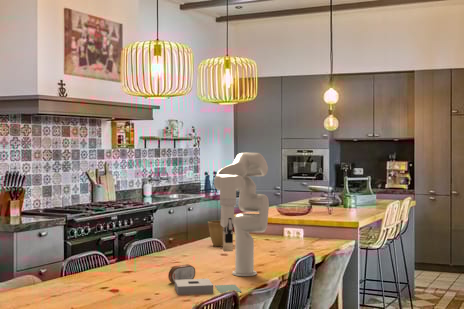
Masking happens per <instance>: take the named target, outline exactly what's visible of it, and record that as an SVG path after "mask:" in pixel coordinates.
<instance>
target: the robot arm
mask: <svg viewBox="0 0 464 309" xmlns="http://www.w3.org/2000/svg"><path fill="white" fill-rule="evenodd" d="M268 171H269V166H268V163H267V161H266V159H265V157H264V156H263V154H261V153H260V152H241V153H238V154H237V155H236V157H235V158H234V160H233V162H232V163H231V164H229V165H226V166H225V167H222V168H221V169H219V170H218V171H217V173H216V175H215V177H214V181H213V185H214V188H215V189H216V190H217V191H219V206H220V207H221V208H220V221H221V226H222V227H224V231H226V234H225V242H226V243H232V231H233V228H234V233H235V234H234V236H235V243H234V244H235V245H234V246H235V249H234V250H235V257H234V258H235V259H234V260H235V261H234V262H235V263H234V265H235V268H234V269H235V270H233V271H232V275H233V276H237V277H253V276H256V275H257V273H258V272H257V271H256V270H254V269H255V268H254V265H255V264H254V263H255V262H254V261H255V258H254V257H255V256H254V254H255V250H254V249H255V247H254V246H255V242H254V238H253V236H252V234H250V233H265V232H266V231H267V229H268V221H269V208H270V200H269V197H268V196H267V195H266V194H263V193H256V192H257V185H256V183H255V182H254V180H253V179H252V178H251V177H265V176H266V175H267V174H268ZM237 191H239V197H238V209H239V211H241V212H242V213H238V214H236V215H235V207H236V206H237ZM243 212H244V213H243Z"/></svg>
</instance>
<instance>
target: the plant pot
mask: <svg viewBox="0 0 464 309" xmlns="http://www.w3.org/2000/svg"><path fill="white" fill-rule="evenodd" d="M207 224H208V232H209V236H210V240H211V243H212V246H214V247H223V231H224V227H222V226H221V220H210V221H207Z"/></svg>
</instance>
